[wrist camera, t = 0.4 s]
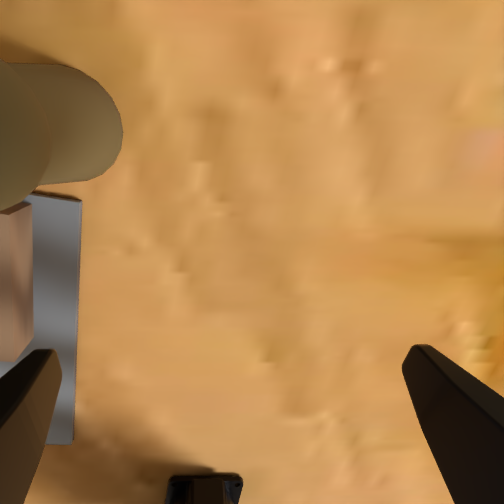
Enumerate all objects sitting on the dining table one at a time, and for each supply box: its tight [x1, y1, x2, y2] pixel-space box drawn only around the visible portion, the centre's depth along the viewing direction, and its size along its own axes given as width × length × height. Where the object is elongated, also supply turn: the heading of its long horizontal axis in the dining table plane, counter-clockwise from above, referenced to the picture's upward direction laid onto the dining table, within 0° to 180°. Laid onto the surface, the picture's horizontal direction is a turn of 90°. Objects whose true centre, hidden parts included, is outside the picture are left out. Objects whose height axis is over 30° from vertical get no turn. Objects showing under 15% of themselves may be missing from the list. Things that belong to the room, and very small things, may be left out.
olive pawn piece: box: [0, 58, 123, 211], centre depth 13 cm, size 6×6×11 cm
